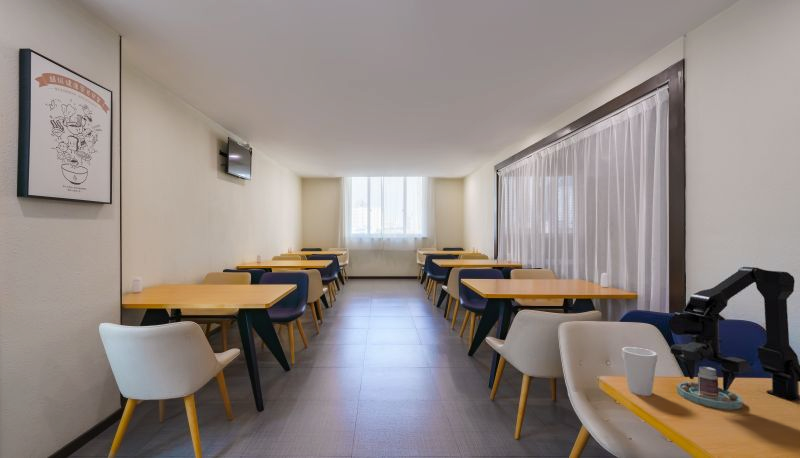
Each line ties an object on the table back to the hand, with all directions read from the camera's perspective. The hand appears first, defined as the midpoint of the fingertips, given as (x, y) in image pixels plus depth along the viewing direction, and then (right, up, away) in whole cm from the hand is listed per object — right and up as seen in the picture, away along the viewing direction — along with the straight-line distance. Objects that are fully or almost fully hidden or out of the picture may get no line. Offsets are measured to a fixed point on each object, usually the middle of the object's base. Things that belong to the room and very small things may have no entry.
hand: (707, 384), depth 109 cm
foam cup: (-18, -5, +4) cm, 19 cm away
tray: (0, -4, 0) cm, 4 cm away
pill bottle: (0, -4, 0) cm, 4 cm away
